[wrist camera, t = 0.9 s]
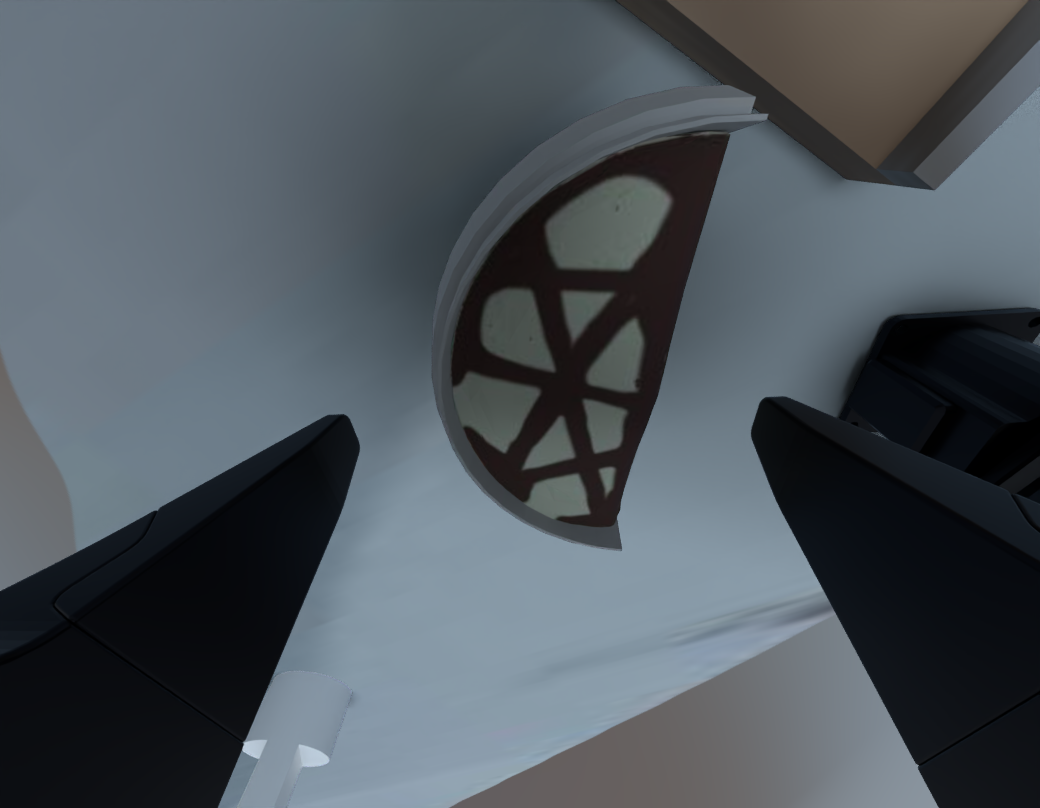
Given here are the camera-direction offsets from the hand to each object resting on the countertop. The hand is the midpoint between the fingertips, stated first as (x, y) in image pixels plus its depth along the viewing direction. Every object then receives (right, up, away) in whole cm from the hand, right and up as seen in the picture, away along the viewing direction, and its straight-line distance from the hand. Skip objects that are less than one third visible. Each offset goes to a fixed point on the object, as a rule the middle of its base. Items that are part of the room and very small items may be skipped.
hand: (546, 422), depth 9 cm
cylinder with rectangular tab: (-25, -33, +37) cm, 56 cm away
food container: (0, +6, +9) cm, 11 cm away
